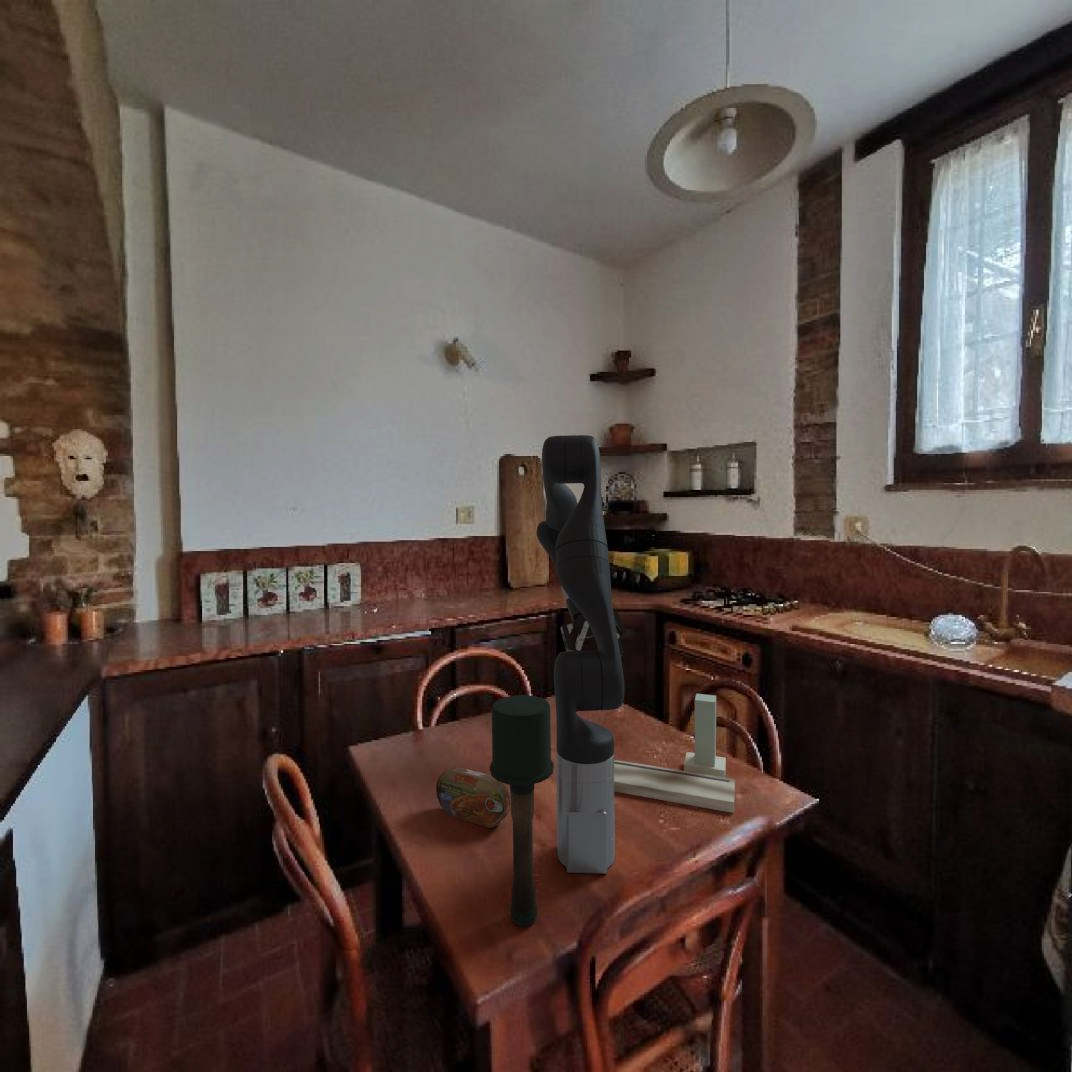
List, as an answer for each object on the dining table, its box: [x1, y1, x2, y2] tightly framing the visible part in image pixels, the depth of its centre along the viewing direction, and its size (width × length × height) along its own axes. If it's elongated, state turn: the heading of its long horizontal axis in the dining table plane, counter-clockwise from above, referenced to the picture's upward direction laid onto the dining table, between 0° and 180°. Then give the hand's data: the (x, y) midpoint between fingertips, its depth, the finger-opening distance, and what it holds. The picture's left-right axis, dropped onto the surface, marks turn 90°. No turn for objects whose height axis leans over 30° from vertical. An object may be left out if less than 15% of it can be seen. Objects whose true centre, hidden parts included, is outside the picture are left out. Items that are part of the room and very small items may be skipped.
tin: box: [435, 766, 511, 828], centre depth 99 cm, size 15×3×8 cm, turn 61°
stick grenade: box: [489, 694, 555, 928], centre depth 74 cm, size 8×9×30 cm
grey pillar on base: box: [683, 693, 727, 778], centre depth 114 cm, size 6×8×16 cm
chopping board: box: [614, 759, 736, 814], centre depth 108 cm, size 9×26×2 cm, turn 69°
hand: (603, 661), depth 123 cm, fingers open, 8 cm apart
